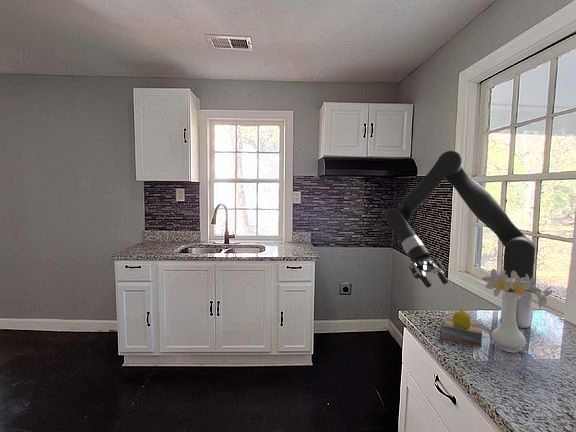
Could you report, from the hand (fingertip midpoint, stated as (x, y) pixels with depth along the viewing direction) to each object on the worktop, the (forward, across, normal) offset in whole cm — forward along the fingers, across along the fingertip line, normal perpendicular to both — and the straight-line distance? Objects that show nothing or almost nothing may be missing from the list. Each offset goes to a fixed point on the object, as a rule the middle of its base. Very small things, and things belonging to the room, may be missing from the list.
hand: (437, 284), depth 124 cm
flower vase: (+28, -6, +5) cm, 29 cm away
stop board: (+17, -2, -5) cm, 18 cm away
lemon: (+18, +1, -2) cm, 18 cm away
